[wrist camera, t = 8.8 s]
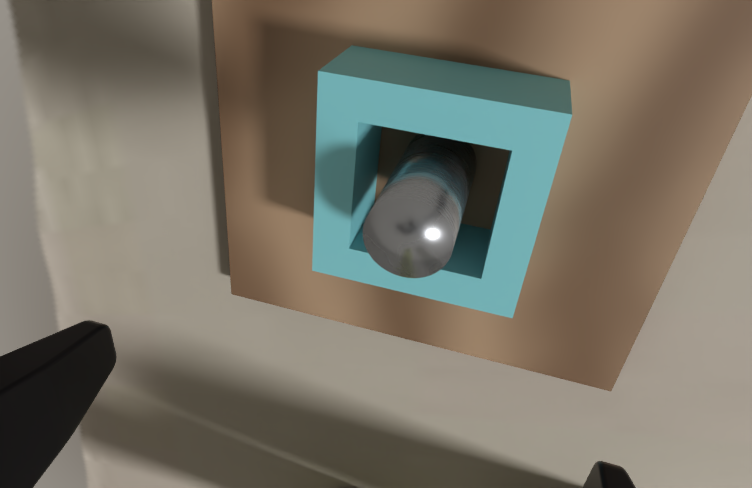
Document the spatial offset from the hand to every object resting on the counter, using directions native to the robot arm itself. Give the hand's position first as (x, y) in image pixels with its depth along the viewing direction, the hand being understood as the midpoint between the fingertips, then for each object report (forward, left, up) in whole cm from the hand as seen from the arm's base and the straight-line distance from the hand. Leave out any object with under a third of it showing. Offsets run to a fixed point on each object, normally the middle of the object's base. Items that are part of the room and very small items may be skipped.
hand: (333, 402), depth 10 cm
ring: (0, 0, -11) cm, 11 cm away
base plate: (0, 0, -12) cm, 12 cm away
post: (0, 0, -12) cm, 12 cm away
